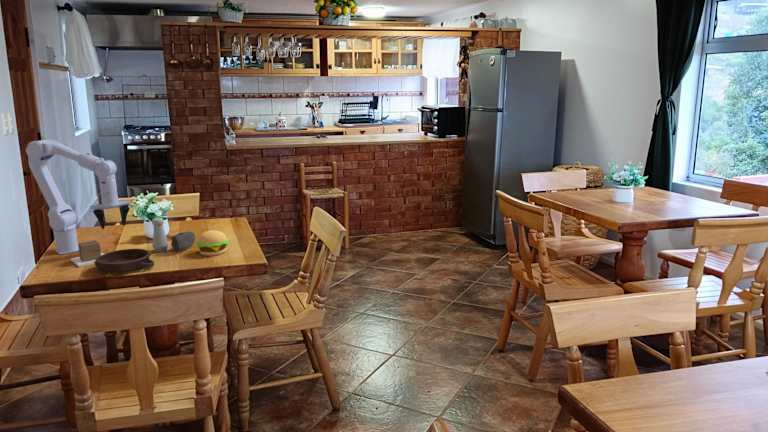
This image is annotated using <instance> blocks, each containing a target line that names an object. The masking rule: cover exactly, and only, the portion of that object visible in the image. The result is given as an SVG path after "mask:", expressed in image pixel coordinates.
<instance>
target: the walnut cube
mask: <svg viewBox="0 0 768 432" xmlns="http://www.w3.org/2000/svg"><path fill="white" fill-rule="evenodd" d="M78 248H79V251H78V254H79V257H80V259H81V260H82V261H83V262H87V261H92V260H96V259H97V258H98V257H99V256H101V253H102V251H101V245H100V242H98V241H97V240H96V239H93V240H88V241H82V242H78Z"/></svg>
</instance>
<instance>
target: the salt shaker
mask: <svg viewBox="0 0 768 432" xmlns="http://www.w3.org/2000/svg"><path fill="white" fill-rule="evenodd" d="M164 223H165V220H164V218H162V217H155V218H153V219H152V220H151V224H152V225H153V235H152V248H153V250H155V252H156V253H162V252H163V253H164V252H166V251H167V250H168V247H169V242H168V238H167V235H166V231H165V229H164Z"/></svg>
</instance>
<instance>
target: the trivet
mask: <svg viewBox="0 0 768 432" xmlns="http://www.w3.org/2000/svg"><path fill="white" fill-rule="evenodd" d="M103 254H105V253H104V252H101V255H103ZM70 261H71V262H72V263H74V264H75V265H76V266H77V267H78V268H82V267H87V266H92V265H95V263H94V262H95V261H96V260H92V261H87V262H83V261H82V260H81V259H80V256H76V257H72V258H70Z"/></svg>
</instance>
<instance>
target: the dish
mask: <svg viewBox="0 0 768 432" xmlns="http://www.w3.org/2000/svg"><path fill="white" fill-rule="evenodd" d="M151 255H152V252H151V251H150V250H147V249H144V248H143V249H142V248H125V249H118V250H113V251H110V252H107V253H104V254H103V255H101V256H99V257H98V258H97V259H96V261H95V262H94V263H95V264H94V265H95V267H98V268H100V269H101V270H102V271H103V272H105V273H109V274H127V273H128V274H129V273H133V272H137V271H140V270H143V269H150V268H153V267H154V265H155V261H153V259H150V257H151Z"/></svg>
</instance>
